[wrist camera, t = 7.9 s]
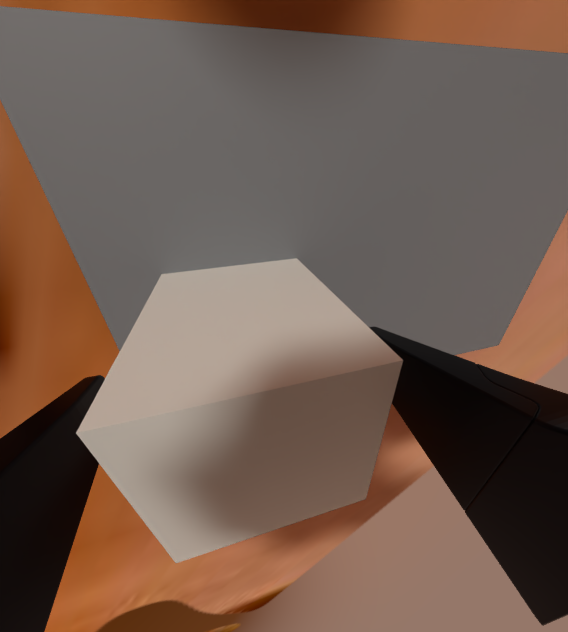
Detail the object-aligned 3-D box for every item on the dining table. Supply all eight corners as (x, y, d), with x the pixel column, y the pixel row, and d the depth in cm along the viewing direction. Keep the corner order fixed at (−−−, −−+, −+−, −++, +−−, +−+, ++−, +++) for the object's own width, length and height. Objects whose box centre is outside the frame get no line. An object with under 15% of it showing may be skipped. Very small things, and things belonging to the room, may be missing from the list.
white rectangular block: (296, 258, 10) (402, 359, 4) (298, 356, 13) (365, 499, 7) (161, 274, 9) (75, 433, 3) (193, 377, 12) (176, 562, 6)
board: (622, 65, 10) (644, 60, 10) (490, 340, 17) (498, 345, 17) (-23, 18, 6) (-46, 2, 5) (155, 412, 13) (153, 421, 12)
